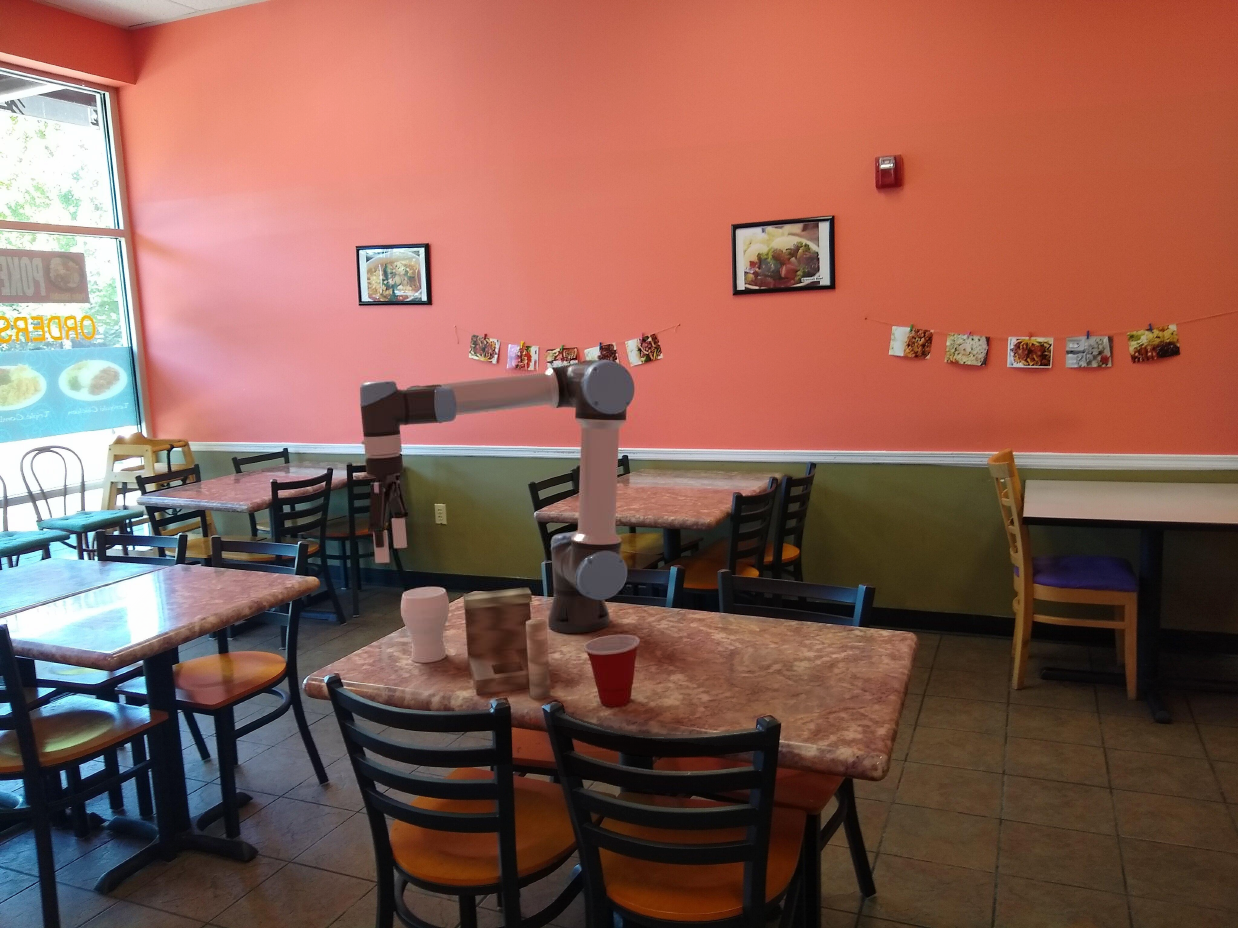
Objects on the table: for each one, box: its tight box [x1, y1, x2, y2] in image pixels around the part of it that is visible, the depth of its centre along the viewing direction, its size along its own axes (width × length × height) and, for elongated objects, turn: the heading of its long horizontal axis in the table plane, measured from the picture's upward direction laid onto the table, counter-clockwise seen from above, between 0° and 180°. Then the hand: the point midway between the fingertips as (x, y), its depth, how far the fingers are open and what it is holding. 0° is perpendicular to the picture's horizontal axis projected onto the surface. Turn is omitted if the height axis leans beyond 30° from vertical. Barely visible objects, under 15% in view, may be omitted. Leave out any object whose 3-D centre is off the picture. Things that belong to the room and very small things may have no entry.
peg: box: [526, 618, 551, 701], centre depth 180 cm, size 4×4×15 cm
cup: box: [400, 586, 450, 664], centre depth 206 cm, size 11×11×15 cm
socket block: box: [463, 587, 533, 696], centre depth 193 cm, size 14×18×16 cm
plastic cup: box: [582, 634, 640, 708], centre depth 176 cm, size 11×11×12 cm
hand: (391, 554), depth 195 cm, fingers open, 13 cm apart
